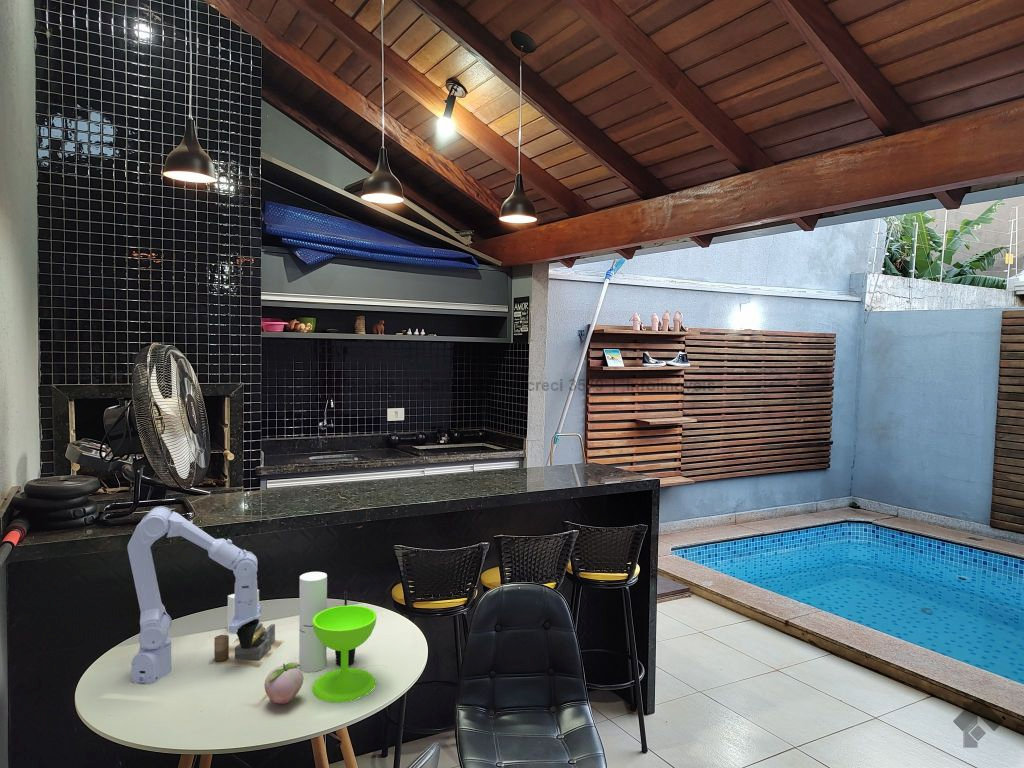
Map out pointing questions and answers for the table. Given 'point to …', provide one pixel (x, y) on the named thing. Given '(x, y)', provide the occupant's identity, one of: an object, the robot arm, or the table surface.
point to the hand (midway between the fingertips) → (246, 647)
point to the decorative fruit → (284, 683)
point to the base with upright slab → (232, 608)
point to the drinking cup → (350, 652)
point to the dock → (252, 650)
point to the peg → (221, 648)
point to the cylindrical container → (311, 621)
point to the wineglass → (344, 651)
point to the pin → (258, 634)
